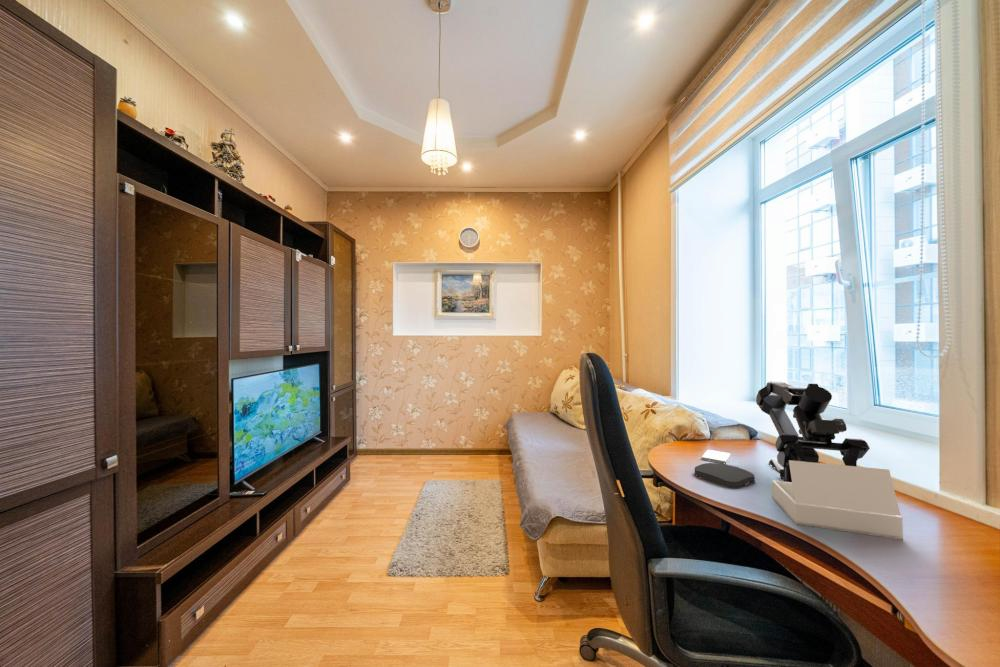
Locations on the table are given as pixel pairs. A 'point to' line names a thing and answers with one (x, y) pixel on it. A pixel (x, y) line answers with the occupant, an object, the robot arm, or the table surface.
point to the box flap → (844, 487)
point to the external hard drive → (716, 456)
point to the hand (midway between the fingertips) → (831, 475)
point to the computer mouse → (777, 466)
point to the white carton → (836, 515)
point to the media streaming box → (725, 474)
